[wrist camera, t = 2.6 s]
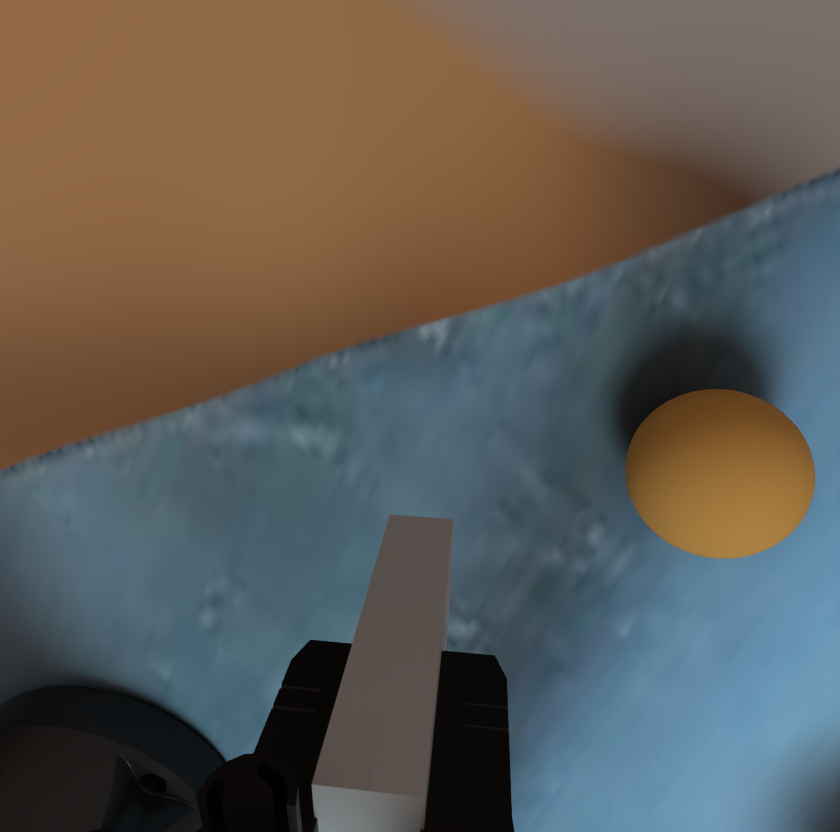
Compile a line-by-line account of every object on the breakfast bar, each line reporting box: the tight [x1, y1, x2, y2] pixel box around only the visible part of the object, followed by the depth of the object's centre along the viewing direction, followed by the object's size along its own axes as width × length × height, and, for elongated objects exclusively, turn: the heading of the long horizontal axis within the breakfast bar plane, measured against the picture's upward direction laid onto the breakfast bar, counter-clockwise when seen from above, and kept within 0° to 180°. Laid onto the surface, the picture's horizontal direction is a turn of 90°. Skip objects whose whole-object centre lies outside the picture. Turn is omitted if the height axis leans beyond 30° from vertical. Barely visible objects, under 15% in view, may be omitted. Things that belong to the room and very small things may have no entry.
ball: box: [625, 389, 815, 559], centre depth 19 cm, size 6×6×6 cm
